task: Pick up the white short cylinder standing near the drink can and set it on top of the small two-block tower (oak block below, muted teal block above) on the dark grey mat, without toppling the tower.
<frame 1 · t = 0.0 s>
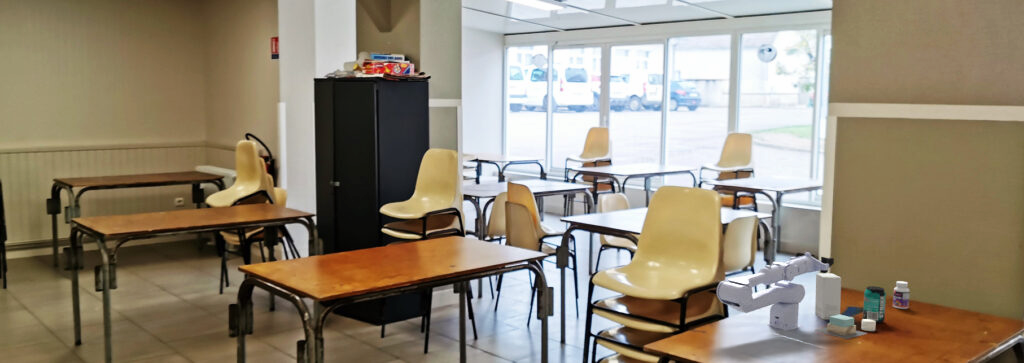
hand: (823, 259, 293), 22 cm above the table, tool horizontal, fingers open, 7 cm apart
top block: (841, 324, 277), point 3 cm above the table, touching bottom block
beverage can: (873, 321, 293), on the table
mat: (841, 333, 277), on the table
white short cylinder: (868, 330, 281), on the table
skincare box: (826, 318, 298), on the table
pill bottle: (900, 307, 314), on the table
bottom block: (841, 331, 277), resting on mat, touching top block
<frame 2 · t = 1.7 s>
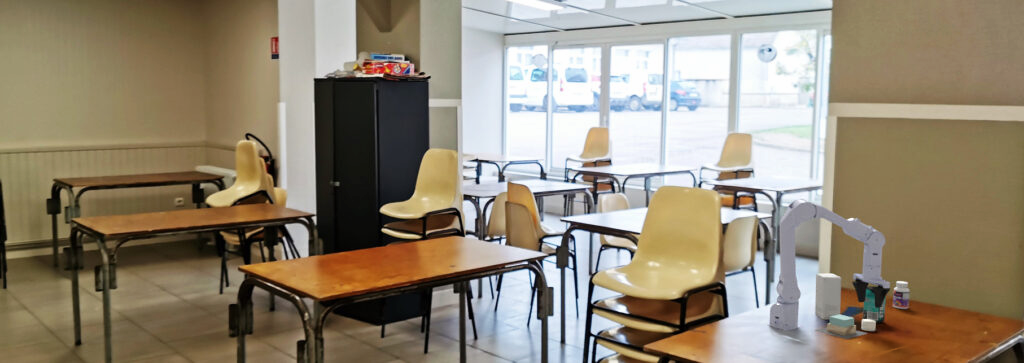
hand: (869, 304, 280), 9 cm above the table, tool pointing down, fingers open, 7 cm apart
nothing on the table moved.
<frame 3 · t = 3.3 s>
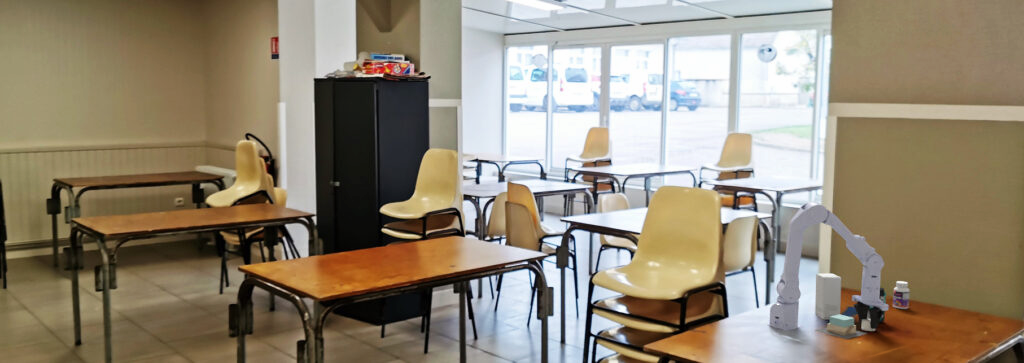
hand: (868, 326, 281), 1 cm above the table, tool pointing down, fingers closed on white short cylinder, 4 cm apart
white short cylinder: (868, 330, 281), on the table, touching gripper
everything else where it was.
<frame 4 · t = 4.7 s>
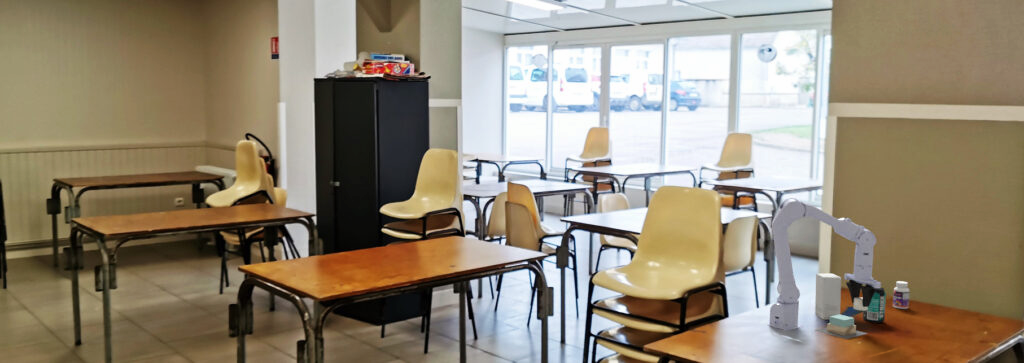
hand: (860, 304, 279), 9 cm above the table, tool pointing down, fingers closed on white short cylinder, 4 cm apart
white short cylinder: (860, 308, 279), point 8 cm above the table, touching gripper
everything else where it was.
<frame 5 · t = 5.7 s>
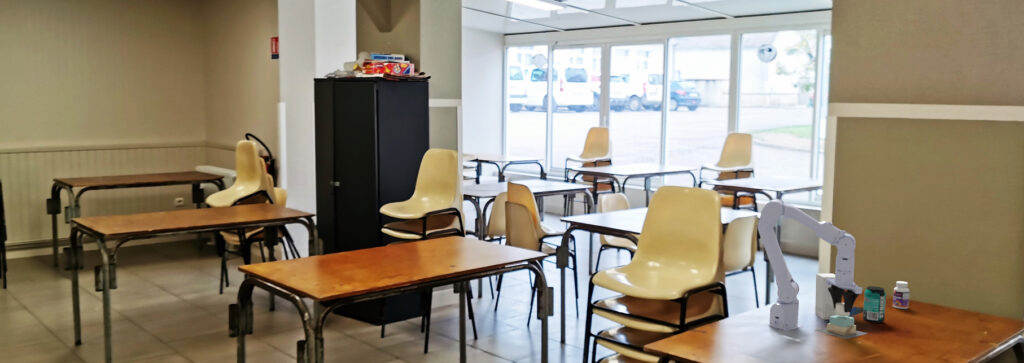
hand: (842, 310, 277), 8 cm above the table, tool pointing down, fingers closed on white short cylinder, 4 cm apart
white short cylinder: (842, 314, 277), point 6 cm above the table, touching gripper
everything else where it was.
when the fingers open (8 cm above the table, at t = 6.3 s): white short cylinder stays where it is, resting on top block.
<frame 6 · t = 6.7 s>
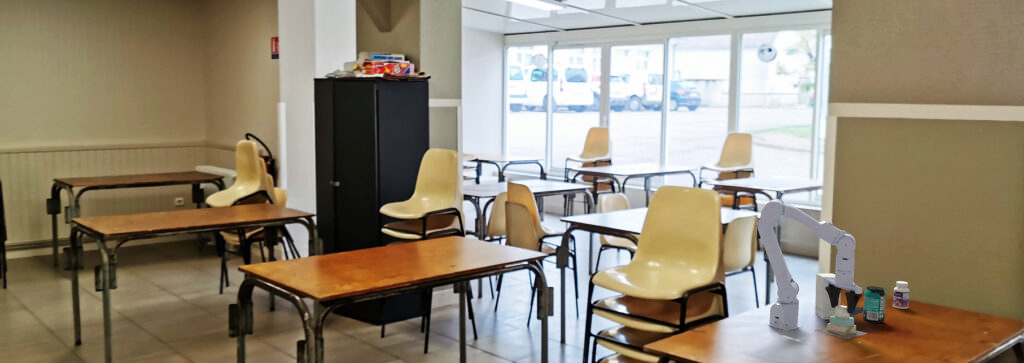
hand: (842, 310, 276), 8 cm above the table, tool pointing down, fingers open, 7 cm apart
top block: (841, 324, 277), point 3 cm above the table, touching bottom block, white short cylinder
white short cylinder: (842, 317, 277), point 5 cm above the table, touching top block
everything else where it was.
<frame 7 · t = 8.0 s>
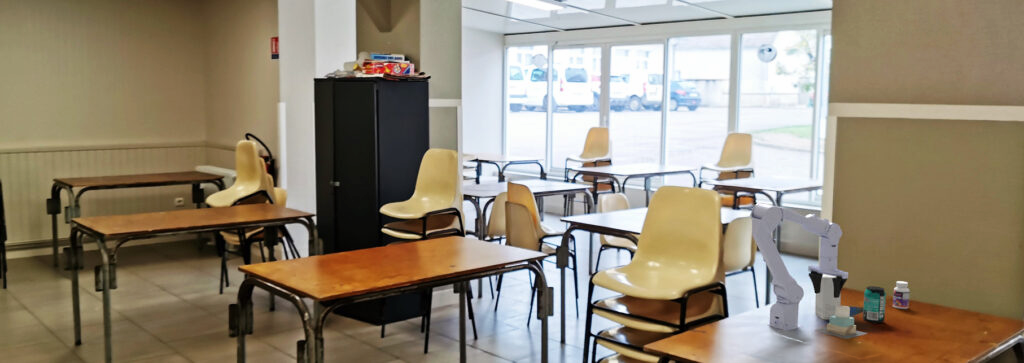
hand: (826, 295, 287), 10 cm above the table, tool pointing down, fingers open, 7 cm apart
nothing on the table moved.
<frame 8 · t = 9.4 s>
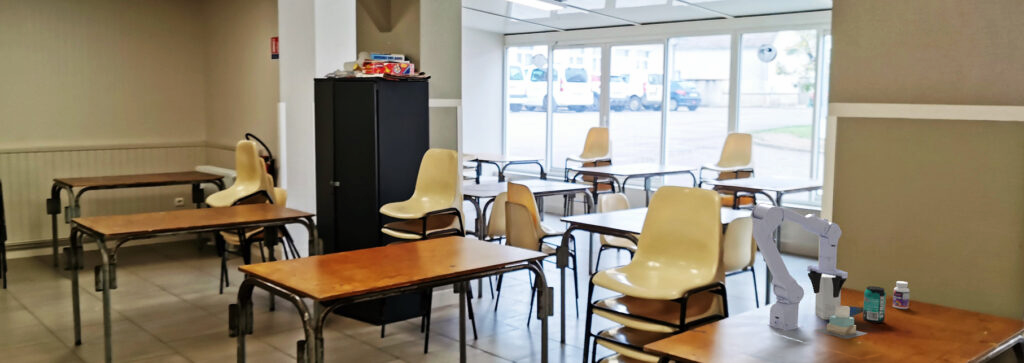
hand: (826, 295, 287), 10 cm above the table, tool pointing down, fingers open, 7 cm apart
nothing on the table moved.
at the end: white short cylinder 0.1 cm off-centre on the top block, point 2.5 cm above the top block's base; top block moved 0.0 cm from its start; white short cylinder tilted 0° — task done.
